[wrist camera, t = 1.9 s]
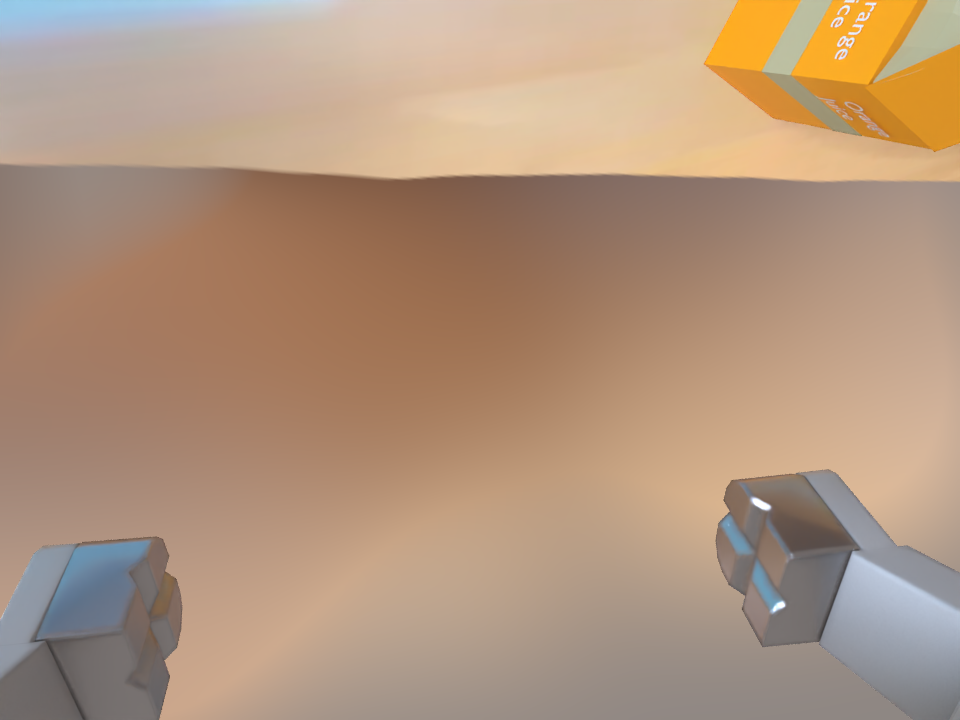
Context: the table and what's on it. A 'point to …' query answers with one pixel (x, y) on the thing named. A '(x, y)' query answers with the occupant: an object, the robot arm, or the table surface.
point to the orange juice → (849, 65)
